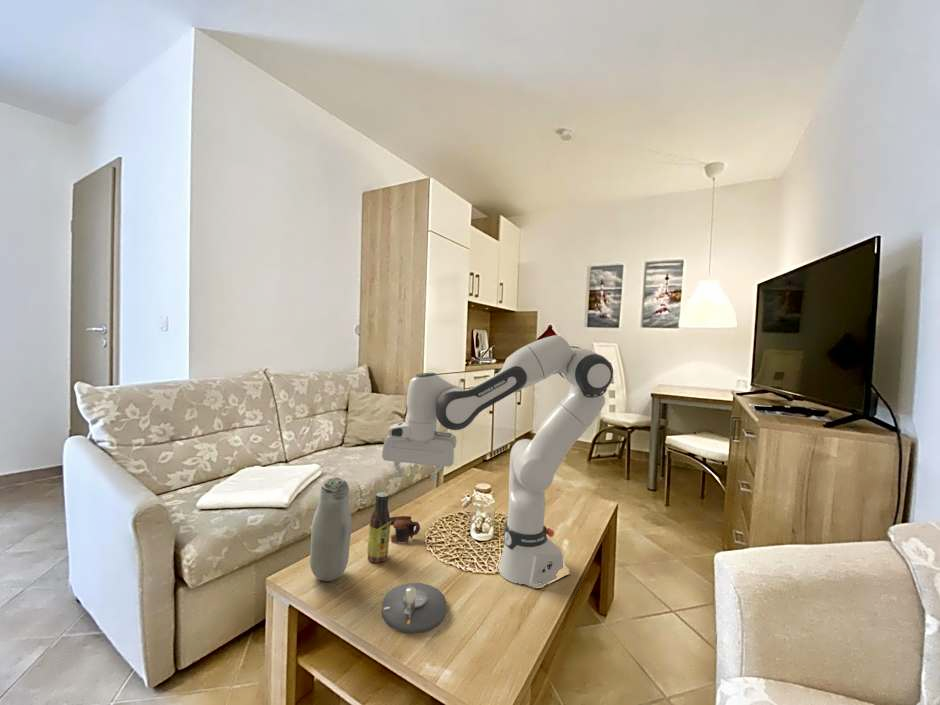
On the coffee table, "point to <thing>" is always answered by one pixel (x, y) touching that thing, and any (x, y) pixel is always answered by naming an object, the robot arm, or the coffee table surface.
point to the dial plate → (421, 617)
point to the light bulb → (413, 600)
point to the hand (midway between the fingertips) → (416, 478)
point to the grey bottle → (331, 531)
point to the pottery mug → (403, 528)
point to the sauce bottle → (379, 529)
